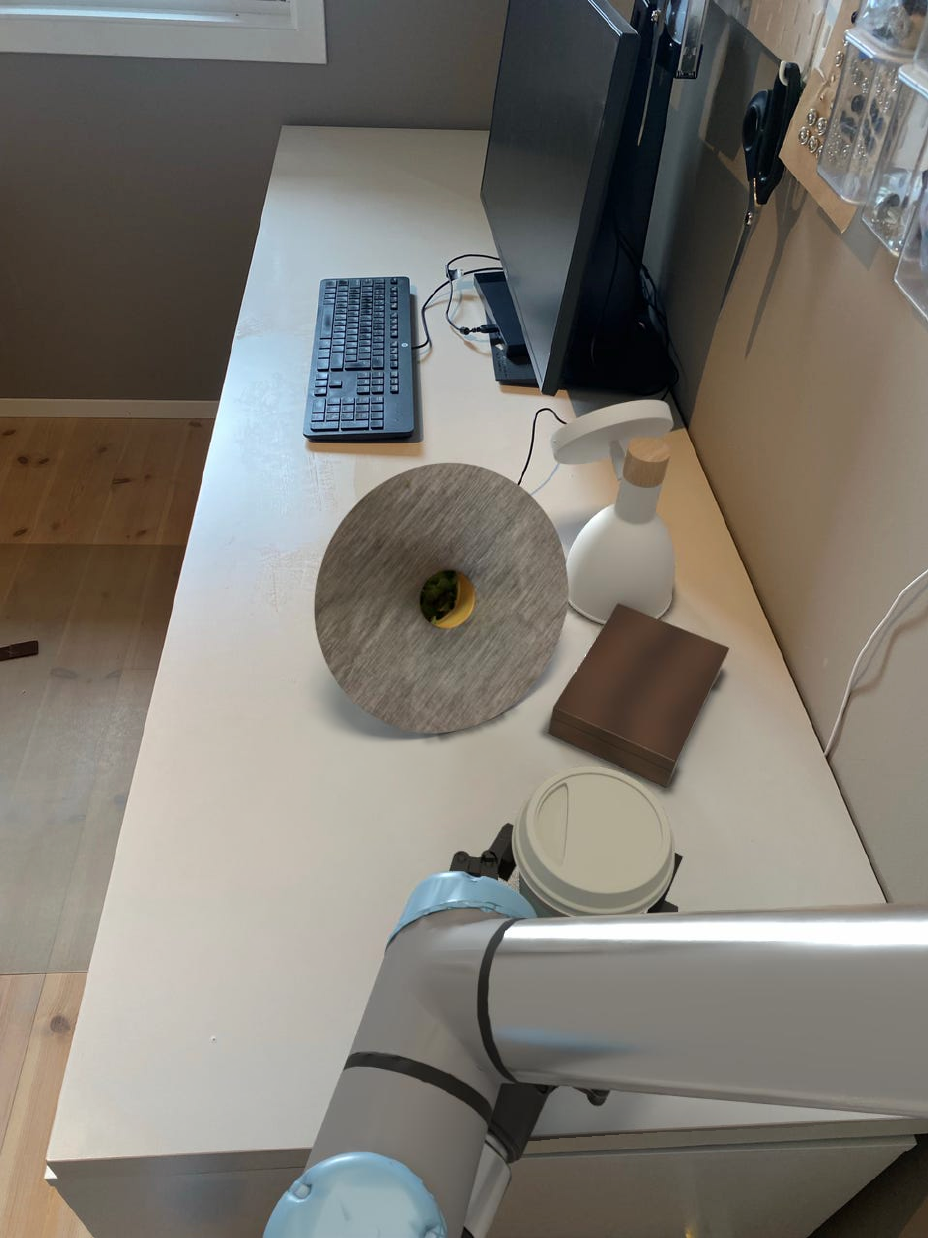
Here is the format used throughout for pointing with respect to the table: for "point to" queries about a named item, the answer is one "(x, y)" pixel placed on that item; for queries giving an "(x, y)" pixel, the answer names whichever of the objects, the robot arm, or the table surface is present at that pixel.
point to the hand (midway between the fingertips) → (607, 831)
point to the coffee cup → (592, 845)
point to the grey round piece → (441, 597)
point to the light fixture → (621, 511)
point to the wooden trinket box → (638, 693)
